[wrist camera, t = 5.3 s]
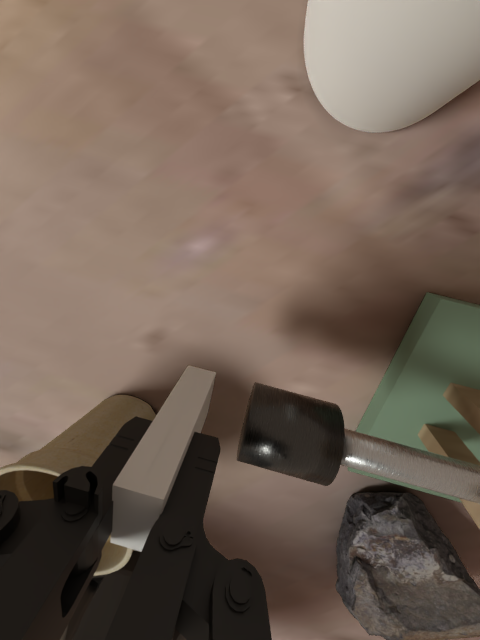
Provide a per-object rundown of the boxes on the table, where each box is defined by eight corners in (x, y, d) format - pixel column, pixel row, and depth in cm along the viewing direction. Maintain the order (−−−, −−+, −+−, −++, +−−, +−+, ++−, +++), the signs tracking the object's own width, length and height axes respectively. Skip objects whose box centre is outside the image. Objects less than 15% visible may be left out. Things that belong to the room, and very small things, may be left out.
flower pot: (167, 372, 21) (97, 466, 13) (194, 461, 24) (151, 582, 16) (66, 380, 23) (-50, 468, 15) (103, 462, 26) (24, 572, 18)
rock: (478, 567, 24) (530, 658, 19) (365, 595, 28) (384, 677, 23) (396, 466, 21) (432, 541, 16) (283, 511, 25) (284, 584, 20)
